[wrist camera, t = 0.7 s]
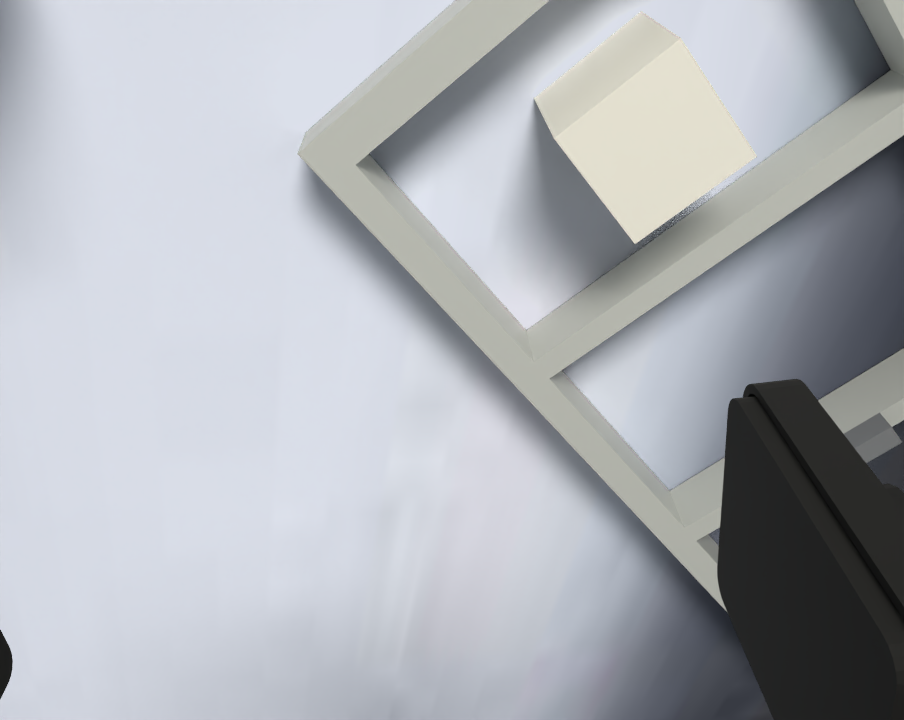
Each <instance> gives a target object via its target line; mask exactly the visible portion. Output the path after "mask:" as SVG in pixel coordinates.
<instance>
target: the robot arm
mask: <svg viewBox="0 0 904 720" xmlns="http://www.w3.org/2000/svg"><path fill="white" fill-rule="evenodd" d="M717 578H718V585H719V590H720V594H721V598H722V600H723V603H724V605H725V608H726V610H727V612H728V615H729V617H730V619H731V622H732V624H733V626H734V629H735V631H736V633H737V636H738V638H739V640H740V643H741V645H742V647H743V649H744V652H745V654H746V656H747V659H748V661H749V663H750V666H751V668H752V670H753V673H754V675H755V677H756V680H757V682H758V684H759V687H760V689H761V691H762V693H763V696H764V698H765V700H766V703H767V705H768V707H769V710H770V712H771V714H772V717H773V719H774V720H904V493H903V492H902V491H901V490H900V489H899V488H898V487H896V486H893V485H890V484H882V483H881V482H880V481H879V479H878V478H877V477H876V475H875V474H874V473H873V472H872V470H871V469H870V468H869V466H868V465H867V464H866V462H865V461H864V460H863V459H862V457H861V456H860V455H859V453H858V452H857V451H856V449H855V448H854V447H853V446H852V444H851V443H850V442H849V440H848V439H847V438H846V437H845V435H844V434H843V433H842V431H841V430H840V429H839V427H838V426H837V425H836V424H835V422H834V421H833V420H832V418H831V417H830V416H829V414H828V413H827V412H826V411H825V409H824V408H823V407H822V405H821V404H820V403H819V401H818V400H817V399H816V398H815V396H814V395H813V394H812V392H811V391H810V390H809V389H808V387H807V386H806V385H805V384H804V383H803V382H802V381H801V380H799V379H791V380H782V381H773V382H764V383H756V384H749V385H748V386H747V387H746V388H745V391H744V394H743V398H734V399H732V400H731V401H730V403H729V408H728V419H727V434H726V448H725V463H724V477H723V492H722V506H721V521H720V535H719V549H718V564H717ZM11 672H12V654H11V650H10V648H9V646H8V644H7V642H6V640H5V638H4V636H3V634H2V632H1V630H0V699H1V697H2V695H3V693H4V691H5V688H6V686H7V684H8V682H9V679H10V677H11Z"/></svg>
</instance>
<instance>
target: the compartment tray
mask: <svg viewBox="0 0 904 720" xmlns="http://www.w3.org/2000/svg"><path fill="white" fill-rule="evenodd" d="M548 1H550V0H455V1H454V2H453V3H452V4H451V5H450V6H448V7H447V8H446V9H445V10H444V11H443V12H442V13H441V14H439V15H438V16H437V17H436V18H435V19H434V20H433V21H431V22H430V23H429V24H428V25H427V26H426V27H425V28H424V29H422V30H421V31H420V32H419V33H418V34H417V35H416V36H414V37H413V38H412V39H411V40H410V41H409V42H408V43H407V44H405V45H404V46H403V47H402V48H401V49H400V50H399V51H397V52H396V53H395V54H394V55H393V56H392V57H391V58H390V59H388V60H387V61H386V62H385V63H384V64H383V65H382V66H380V67H379V68H378V69H377V70H376V71H375V72H374V73H373V74H371V75H370V76H369V77H368V78H367V79H366V80H365V81H364V82H362V83H361V84H360V85H359V86H358V87H357V88H356V89H354V90H353V91H352V92H351V93H350V94H349V95H348V96H347V97H345V98H344V99H343V100H342V101H341V102H340V103H339V104H337V105H336V106H335V107H334V108H333V109H332V110H331V111H330V112H328V113H327V114H326V115H325V116H324V117H323V118H322V119H320V120H319V121H318V122H317V123H316V124H315V125H314V126H313V127H311V128H310V129H309V130H308V131H307V132H306V133H305V135H304V138H303V141H302V143H301V146H300V148H299V151H298V155H299V156H300V157H301V158H302V159H303V160H304V161H305V163H306V164H307V165H308V166H309V167H310V168H311V169H312V170H313V171H314V172H315V173H316V174H317V175H318V176H319V177H320V179H321V180H322V181H323V182H324V183H325V184H326V185H327V186H328V187H329V188H330V189H331V190H332V191H333V192H334V193H335V195H336V196H337V197H338V198H339V199H340V200H341V201H342V202H343V203H344V204H345V205H346V206H347V207H348V208H349V209H350V211H351V212H352V213H353V214H354V215H355V216H356V217H357V218H358V219H359V220H360V221H361V222H362V223H363V224H364V225H365V227H366V228H367V229H368V230H369V231H370V232H371V233H372V234H373V235H374V236H375V237H376V238H377V239H378V240H379V241H380V243H381V244H382V245H383V246H384V247H385V248H386V249H387V250H388V251H389V252H390V253H391V254H392V255H393V256H394V257H395V258H396V260H397V261H398V262H399V263H400V264H401V265H402V266H403V267H404V268H405V269H406V270H407V271H408V272H409V273H410V274H411V276H412V277H413V278H414V279H415V280H416V281H417V282H418V283H419V284H420V285H421V286H422V287H423V288H424V289H425V290H426V292H427V293H428V294H429V295H430V296H431V297H432V298H433V299H434V300H435V301H436V302H437V303H438V304H439V305H440V306H441V308H442V309H443V310H444V311H445V312H446V313H447V314H448V315H449V316H450V317H451V318H452V319H453V320H454V321H455V322H456V324H457V325H458V326H459V327H460V328H461V329H462V330H463V331H464V332H465V333H466V334H467V335H468V336H469V337H470V338H471V340H472V341H473V342H474V343H475V344H476V345H477V346H478V347H479V348H480V349H481V350H482V351H483V352H484V353H485V354H486V356H487V357H488V358H489V359H490V360H491V361H492V362H493V363H494V364H495V365H496V366H497V367H498V368H499V369H500V370H501V372H502V373H503V374H504V375H505V376H506V377H507V378H508V379H509V380H510V381H511V382H512V383H513V384H514V385H515V386H516V388H517V389H518V390H519V391H520V392H521V393H522V394H523V395H524V396H525V397H526V398H527V399H528V400H529V401H530V402H531V404H532V405H533V406H534V407H535V408H536V409H537V410H538V411H539V412H540V413H541V414H542V415H543V416H544V417H545V418H546V420H547V421H548V422H549V423H550V424H551V425H552V426H553V427H554V428H555V429H556V430H557V431H558V432H559V433H560V434H561V436H562V437H563V438H564V439H565V440H566V441H567V442H568V443H569V444H570V445H571V446H572V447H573V448H574V449H575V450H576V452H577V453H578V454H579V455H580V456H581V457H582V458H583V459H584V460H585V461H586V462H587V463H588V464H589V465H590V466H591V468H592V469H593V470H594V471H595V472H596V473H597V474H598V475H599V476H600V477H601V478H602V479H603V480H604V481H605V482H606V484H607V485H608V486H609V487H610V488H611V489H612V490H613V491H614V492H615V493H616V494H617V495H618V496H619V497H620V498H621V500H622V501H623V502H624V503H625V504H626V505H627V506H628V507H629V508H630V509H631V510H632V511H633V512H634V513H635V514H636V516H637V517H638V518H639V519H640V520H641V521H642V522H643V523H644V524H645V525H646V526H647V527H648V528H649V529H650V530H651V532H652V533H653V534H654V535H655V536H656V537H657V538H658V539H659V540H660V541H661V542H662V543H663V544H664V545H665V546H666V548H667V549H668V550H669V551H670V552H671V553H672V554H673V555H674V556H675V557H676V558H677V559H678V560H679V561H680V562H681V564H682V565H683V566H684V567H685V568H686V569H687V570H688V571H689V572H690V573H691V574H692V575H693V576H694V577H695V578H696V580H697V581H698V582H699V583H700V584H701V585H702V586H703V587H704V588H705V589H706V590H707V591H708V592H709V593H710V594H711V595H712V597H713V598H714V599H715V600H716V601H717V602H718V603H719V604H720V605H721V606H722V607H723V608H724V609H725V610H726V608H725V605H724V603H723V600H722V598H721V594H720V590H719V585H718V578H717V564H718V549H719V546H718V545H717V544H716V543H715V541H714V540H713V539H712V538H711V537H710V536H709V535H708V534H709V533H711V532H712V531H714V530H716V529H718V528H719V527H720V521H721V506H722V492H723V477H724V463H725V458H723V459H721V460H720V461H718V462H716V463H715V464H713V465H711V466H710V467H708V468H706V469H705V470H703V471H702V472H700V473H698V474H697V475H695V476H693V477H692V478H690V479H688V480H687V481H685V482H683V483H682V484H680V485H679V486H677V487H675V488H674V489H672V490H670V491H669V490H668V489H667V488H666V487H665V485H664V484H663V483H662V482H661V481H660V480H659V479H658V478H657V476H656V475H655V474H654V473H653V472H652V471H651V470H650V469H649V467H648V466H647V465H646V464H645V463H644V462H643V461H642V460H641V458H640V457H639V456H638V455H637V454H636V453H635V452H634V451H633V450H632V448H631V447H630V446H629V445H628V444H627V443H626V442H625V441H624V439H623V438H622V437H621V436H620V435H619V434H618V433H617V432H616V430H615V429H614V428H613V427H612V426H611V425H610V424H609V423H608V422H607V420H606V419H605V418H604V417H603V416H602V415H601V414H600V413H599V411H598V410H597V409H596V408H595V407H594V406H593V405H592V404H591V402H590V401H589V400H588V399H587V398H586V397H585V396H584V395H583V393H582V392H581V391H580V390H579V389H578V388H577V387H576V386H575V385H574V383H573V382H572V381H571V380H570V379H569V378H568V377H567V376H566V374H565V373H564V372H563V371H562V370H563V369H564V368H566V367H567V366H569V365H570V364H572V363H573V362H574V361H576V360H577V359H579V358H580V357H582V356H583V355H585V354H586V353H588V352H589V351H590V350H592V349H593V348H595V347H596V346H598V345H599V344H601V343H602V342H604V341H605V340H606V339H608V338H609V337H611V336H612V335H614V334H615V333H617V332H618V331H620V330H621V329H622V328H624V327H625V326H627V325H628V324H630V323H631V322H633V321H634V320H636V319H637V318H638V317H640V316H641V315H643V314H644V313H646V312H647V311H649V310H650V309H652V308H653V307H654V306H656V305H657V304H659V303H660V302H662V301H663V300H665V299H666V298H668V297H669V296H670V295H672V294H673V293H675V292H676V291H678V290H679V289H681V288H682V287H684V286H685V285H686V284H688V283H689V282H691V281H692V280H694V279H695V278H697V277H698V276H699V275H701V274H702V273H704V272H705V271H707V270H708V269H710V268H711V267H713V266H714V265H715V264H717V263H718V262H720V261H721V260H723V259H724V258H726V257H727V256H729V255H730V254H731V253H733V252H734V251H736V250H737V249H739V248H740V247H742V246H743V245H745V244H746V243H747V242H749V241H750V240H752V239H753V238H755V237H756V236H758V235H759V234H761V233H762V232H763V231H765V230H766V229H768V228H769V227H771V226H772V225H774V224H775V223H777V222H778V221H779V220H781V219H782V218H784V217H785V216H787V215H788V214H790V213H791V212H793V211H794V210H795V209H797V208H798V207H800V206H801V205H803V204H804V203H806V202H807V201H809V200H810V199H811V198H813V197H814V196H816V195H817V194H819V193H820V192H822V191H823V190H825V189H826V188H827V187H829V186H830V185H832V184H833V183H835V182H836V181H838V180H839V179H841V178H842V177H843V176H845V175H846V174H848V173H849V172H851V171H852V170H854V169H855V168H857V167H858V166H859V165H861V164H862V163H864V162H865V161H867V160H868V159H870V158H871V157H873V156H874V155H875V154H877V153H878V152H880V151H881V150H883V149H884V148H886V147H887V146H889V145H890V144H891V143H893V142H894V141H896V140H897V139H899V138H900V137H902V136H903V135H904V0H854V1H855V3H856V5H857V7H858V9H859V11H860V13H861V15H862V16H863V18H864V20H865V22H866V24H867V26H868V28H869V30H870V32H871V33H872V35H873V37H874V39H875V41H876V43H877V45H878V47H879V48H880V50H881V52H882V54H883V56H884V58H885V60H886V62H887V64H888V65H889V67H890V69H891V70H890V71H889V72H887V73H886V74H884V75H883V76H882V77H880V78H879V79H877V80H876V81H875V82H873V83H872V84H870V85H869V86H868V87H866V88H865V89H863V90H862V91H861V92H859V93H858V94H856V95H855V96H854V97H852V98H851V99H849V100H848V101H847V102H845V103H844V104H842V105H841V106H840V107H838V108H837V109H835V110H834V111H833V112H831V113H830V114H828V115H827V116H826V117H824V118H823V119H821V120H820V121H819V122H817V123H816V124H814V125H813V126H812V127H810V128H809V129H807V130H806V131H805V132H803V133H802V134H800V135H799V136H798V137H796V138H795V139H793V140H792V141H791V142H789V143H788V144H786V145H785V146H784V147H782V148H781V149H779V150H778V151H777V152H775V153H774V154H772V155H771V156H770V157H768V158H767V159H765V160H764V161H763V162H761V163H760V164H758V165H757V166H756V167H754V168H753V169H751V170H750V171H749V172H747V173H746V174H744V175H743V176H742V177H740V178H739V179H738V180H736V181H735V182H733V183H732V184H731V185H729V186H728V187H726V188H725V189H724V190H722V191H721V192H719V193H718V194H717V195H715V196H714V197H712V198H711V199H710V200H708V201H707V202H705V203H704V204H703V205H701V206H700V207H698V208H697V209H696V210H694V211H693V212H691V213H690V214H689V215H687V216H686V217H684V218H683V219H682V220H680V221H679V222H677V223H676V224H675V225H673V226H672V227H670V228H669V229H668V230H666V231H665V232H663V233H662V234H661V235H659V236H658V237H656V238H655V239H654V240H652V241H651V242H649V243H648V244H647V245H645V246H644V247H642V248H641V249H640V250H638V251H637V252H635V253H634V254H633V255H631V256H630V257H628V258H627V259H626V260H624V261H623V262H621V263H620V264H619V265H617V266H616V267H614V268H613V269H612V270H610V271H609V272H607V273H606V274H605V275H603V276H602V277H600V278H599V279H598V280H596V281H595V282H593V283H592V284H591V285H589V286H588V287H586V288H585V289H584V290H582V291H581V292H579V293H578V294H577V295H575V296H574V297H572V298H571V299H570V300H568V301H567V302H566V303H564V304H563V305H561V306H560V307H559V308H557V309H556V310H554V311H553V312H552V313H550V314H549V315H547V316H546V317H545V318H543V319H542V320H540V321H539V322H538V323H536V324H535V325H533V326H532V327H531V328H529V329H528V330H525V328H524V327H523V326H522V325H521V324H520V323H519V322H518V321H517V320H516V318H515V317H514V316H513V315H512V314H511V313H510V312H509V311H508V309H507V308H506V307H505V306H504V305H503V304H502V303H501V302H500V300H499V299H498V298H497V297H496V296H495V295H494V294H493V293H492V291H491V290H490V289H489V288H488V287H487V286H486V285H485V284H484V283H483V281H482V280H481V279H480V278H479V277H478V276H477V275H476V274H475V272H474V271H473V270H472V269H471V268H470V267H469V266H468V265H467V263H466V262H465V261H464V260H463V259H462V258H461V257H460V256H459V254H458V253H457V252H456V251H455V250H454V249H453V248H452V247H451V246H450V244H449V243H448V242H447V241H446V240H445V239H444V238H443V237H442V235H441V234H440V233H439V232H438V231H437V230H436V229H435V228H434V226H433V225H432V224H431V223H430V222H429V221H428V220H427V219H426V217H425V216H424V215H423V214H422V213H421V212H420V211H419V210H418V209H417V207H416V206H415V205H414V204H413V203H412V202H411V201H410V200H409V198H408V197H407V196H406V195H405V194H404V193H403V192H402V191H401V189H400V188H399V187H398V186H397V185H396V184H395V183H394V182H393V181H392V179H391V178H390V177H389V176H388V175H387V174H386V173H385V172H384V170H383V169H382V168H381V167H380V166H379V165H378V164H377V163H376V161H375V160H374V159H373V158H372V157H371V156H370V155H369V153H370V152H371V151H373V150H374V149H375V148H376V147H377V146H378V145H380V144H381V143H382V142H383V141H384V140H386V139H387V138H388V137H389V136H390V135H391V134H393V133H394V132H395V131H396V130H397V129H399V128H400V127H401V126H402V125H403V124H404V123H406V122H407V121H408V120H409V119H410V118H412V117H413V116H414V115H415V114H416V113H417V112H419V111H420V110H421V109H422V108H423V107H424V106H426V105H427V104H428V103H429V102H430V101H432V100H433V99H434V98H435V97H436V96H437V95H439V94H440V93H441V92H442V91H443V90H445V89H446V88H447V87H448V86H449V85H450V84H452V83H453V82H454V81H455V80H456V79H458V78H459V77H460V76H461V75H462V74H463V73H465V72H466V71H467V70H468V69H469V68H470V67H472V66H473V65H474V64H475V63H476V62H478V61H479V60H480V59H481V58H482V57H483V56H485V55H486V54H487V53H488V52H489V51H491V50H492V49H493V48H494V47H495V46H496V45H498V44H499V43H500V42H501V41H502V40H504V39H505V38H506V37H507V36H508V35H509V34H511V33H512V32H513V31H514V30H515V29H516V28H518V27H519V26H520V25H521V24H522V23H524V22H525V21H526V20H527V19H528V18H529V17H531V16H532V15H533V14H534V13H535V12H537V11H538V10H539V9H540V8H541V7H542V6H544V5H545V4H546V3H547V2H548ZM818 401H819V403H820V404H821V405H822V407H823V408H824V409H825V411H826V412H827V413H828V414H829V416H830V417H831V418H832V420H833V421H834V422H835V424H836V425H837V426H838V427H839V429H840V430H841V431H842V433H843V434H844V435H845V437H846V438H847V439H848V440H849V442H850V443H851V444H852V446H853V447H854V448H855V449H856V451H857V452H858V453H859V455H860V456H861V457H862V459H863V460H864V461H865V462H866V463H867V462H869V461H871V460H872V459H874V458H876V457H878V456H879V455H881V454H883V453H885V452H886V451H888V450H890V449H892V448H893V447H895V446H897V445H899V444H900V443H902V441H901V440H900V438H899V437H898V435H897V434H896V432H895V431H894V430H893V428H892V427H893V426H894V425H896V424H898V423H899V422H901V421H903V420H904V348H903V349H902V350H900V351H899V352H897V353H895V354H894V355H892V356H890V357H889V358H887V359H885V360H884V361H882V362H880V363H879V364H877V365H876V366H874V367H872V368H871V369H869V370H867V371H866V372H864V373H862V374H861V375H859V376H857V377H856V378H854V379H853V380H851V381H849V382H848V383H846V384H844V385H843V386H841V387H839V388H838V389H836V390H835V391H833V392H831V393H830V394H828V395H826V396H825V397H823V398H821V399H820V400H818ZM726 611H727V610H726ZM727 613H728V612H727Z"/></svg>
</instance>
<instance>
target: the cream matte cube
mask: <svg viewBox="0 0 904 720" xmlns="http://www.w3.org/2000/svg"><path fill="white" fill-rule="evenodd" d="M534 100H535V102H536V104H537V106H538V108H539V110H540V112H541V114H542V116H543V118H544V120H545V122H546V124H547V126H548V128H549V130H550V132H551V134H552V136H553V138H554V139H555V140H556V142H557V143H558V144H559V146H560V147H561V148H562V150H563V151H564V152H565V154H566V155H567V156H568V157H569V159H570V160H571V161H572V163H573V164H574V165H575V167H576V168H577V169H578V170H579V172H580V173H581V174H582V176H583V177H584V178H585V180H586V181H587V182H588V184H589V185H590V186H591V187H592V189H593V190H594V191H595V193H596V194H597V195H598V197H599V198H600V199H601V201H602V202H603V203H604V204H605V206H606V207H607V208H608V210H609V211H610V212H611V214H612V215H613V216H614V217H615V219H616V220H617V221H618V223H619V224H620V225H621V227H622V228H623V229H624V231H625V232H626V233H627V234H628V236H629V237H630V238H631V240H632V241H633V242H634V244H636V243H637V242H639V241H640V240H642V239H643V238H644V237H646V236H647V235H649V234H650V233H651V232H653V231H654V230H655V229H657V228H658V227H660V226H661V225H662V224H664V223H665V222H667V221H668V220H669V219H671V218H672V217H674V216H675V215H676V214H678V213H679V212H681V211H682V210H683V209H685V208H686V207H687V206H689V205H690V204H692V203H693V202H694V201H696V200H697V199H699V198H700V197H701V196H703V195H704V194H706V193H707V192H708V191H710V190H711V189H713V188H714V187H715V186H717V185H718V184H719V183H721V182H722V181H724V180H725V179H726V178H728V177H729V176H731V175H732V174H733V173H735V172H736V171H738V170H739V169H740V168H742V167H743V166H745V165H746V164H747V163H749V162H750V161H751V160H753V159H754V158H756V157H757V156H756V154H755V153H754V151H753V149H752V148H751V146H750V145H749V143H748V142H747V140H746V139H745V137H744V135H743V134H742V132H741V131H740V129H739V128H738V126H737V125H736V123H735V121H734V120H733V118H732V117H731V115H730V114H729V112H728V111H727V109H726V108H725V106H724V104H723V103H722V101H721V100H720V98H719V97H718V95H717V94H716V92H715V90H714V89H713V87H712V86H711V84H710V83H709V81H708V80H707V78H706V77H705V75H704V73H703V72H702V70H701V69H700V67H699V66H698V64H697V63H696V61H695V59H694V58H693V56H692V55H691V53H690V52H689V50H688V49H687V47H686V46H685V44H684V42H683V41H682V39H681V38H680V37H678V36H677V35H675V34H674V33H672V32H671V31H669V30H668V29H667V28H665V27H664V26H662V25H661V24H659V23H658V22H656V21H655V20H653V19H652V18H650V17H649V16H648V15H646V14H645V13H643V12H642V11H641V12H640V13H638V14H637V15H636V16H635V17H633V18H632V19H631V20H630V21H628V22H627V23H626V24H625V25H624V26H622V27H621V28H620V29H619V30H617V31H616V32H615V33H614V34H612V35H611V36H610V37H609V38H608V39H606V40H605V41H604V42H603V43H601V44H600V45H599V46H598V47H596V48H595V49H594V50H593V51H592V52H590V53H589V54H588V55H587V56H585V57H584V58H583V59H582V60H580V61H579V62H578V63H577V64H575V65H574V66H573V67H572V68H571V69H569V70H568V71H567V72H566V73H564V74H563V75H562V76H561V77H559V78H558V79H557V80H556V81H555V82H553V83H552V84H551V85H550V86H548V87H547V88H546V89H545V90H543V91H542V92H541V93H540V94H539V95H537V96H536V97H535V98H534Z"/></svg>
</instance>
